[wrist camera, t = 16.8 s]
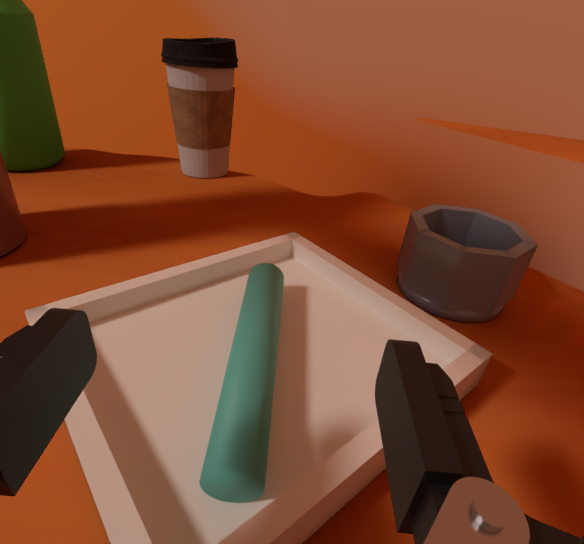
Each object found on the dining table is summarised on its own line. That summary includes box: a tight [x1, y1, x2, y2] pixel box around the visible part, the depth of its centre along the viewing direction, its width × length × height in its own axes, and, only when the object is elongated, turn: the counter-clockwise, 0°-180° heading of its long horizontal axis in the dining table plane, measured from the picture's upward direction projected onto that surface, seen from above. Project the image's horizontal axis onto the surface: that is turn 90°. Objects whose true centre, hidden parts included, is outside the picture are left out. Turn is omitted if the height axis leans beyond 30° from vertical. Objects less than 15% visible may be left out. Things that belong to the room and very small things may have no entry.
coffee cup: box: [161, 38, 238, 178], centre depth 46 cm, size 8×8×15 cm
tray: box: [24, 232, 492, 544], centre depth 22 cm, size 17×19×2 cm
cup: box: [397, 204, 538, 323], centre depth 29 cm, size 8×8×6 cm
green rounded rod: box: [199, 263, 284, 503], centre depth 20 cm, size 2×2×14 cm
